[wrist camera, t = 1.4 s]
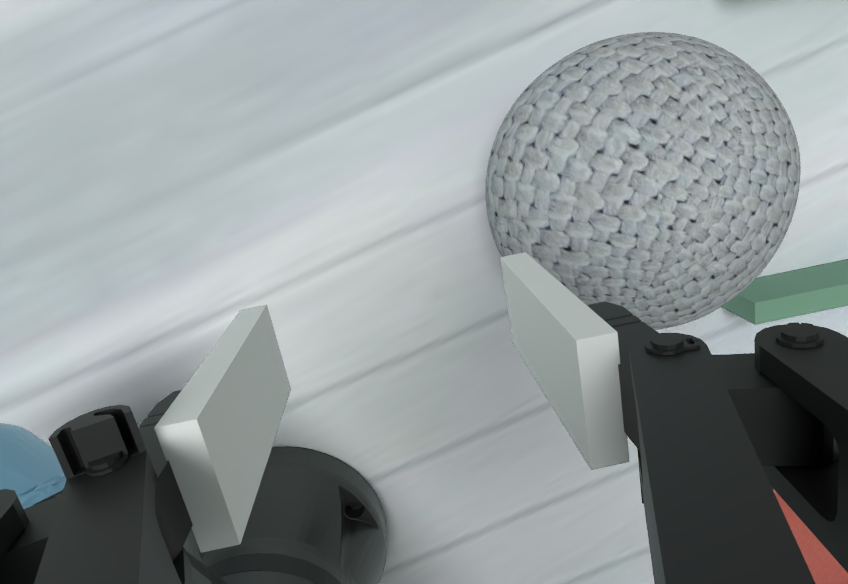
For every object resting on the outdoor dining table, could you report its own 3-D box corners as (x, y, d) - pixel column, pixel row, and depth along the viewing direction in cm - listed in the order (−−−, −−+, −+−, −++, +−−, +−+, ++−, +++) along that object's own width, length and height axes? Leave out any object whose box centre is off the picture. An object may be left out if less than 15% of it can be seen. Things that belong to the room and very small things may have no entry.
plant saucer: (790, 641, 51) (818, 675, 48) (667, 533, 46) (688, 564, 43) (958, 510, 48) (999, 537, 45) (843, 382, 43) (880, 402, 40)
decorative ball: (531, 7, 34) (645, -78, 19) (734, 116, 37) (963, 111, 22) (428, 235, 37) (460, 304, 23) (620, 318, 40) (756, 426, 26)
